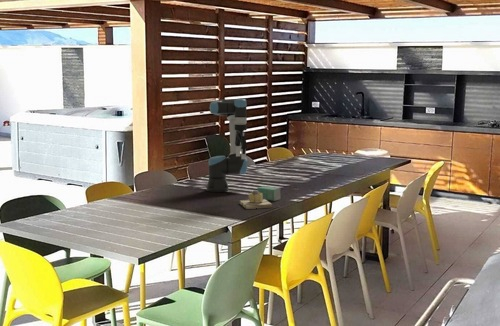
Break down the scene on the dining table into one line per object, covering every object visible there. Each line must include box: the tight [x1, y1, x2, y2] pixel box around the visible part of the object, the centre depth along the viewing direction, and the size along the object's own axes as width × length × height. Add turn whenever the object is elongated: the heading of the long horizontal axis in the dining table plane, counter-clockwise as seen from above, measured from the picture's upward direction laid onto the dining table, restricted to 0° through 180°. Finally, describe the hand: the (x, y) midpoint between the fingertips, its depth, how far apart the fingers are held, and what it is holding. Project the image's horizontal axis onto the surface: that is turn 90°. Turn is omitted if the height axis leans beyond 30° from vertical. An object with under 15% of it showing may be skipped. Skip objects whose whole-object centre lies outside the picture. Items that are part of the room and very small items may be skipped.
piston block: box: [239, 190, 273, 210], centre depth 361 cm, size 16×16×9 cm
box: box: [256, 185, 282, 202], centre depth 381 cm, size 7×14×8 cm, turn 52°
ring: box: [248, 192, 263, 202], centre depth 361 cm, size 8×8×4 cm
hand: (240, 157), depth 376 cm, fingers open, 13 cm apart
